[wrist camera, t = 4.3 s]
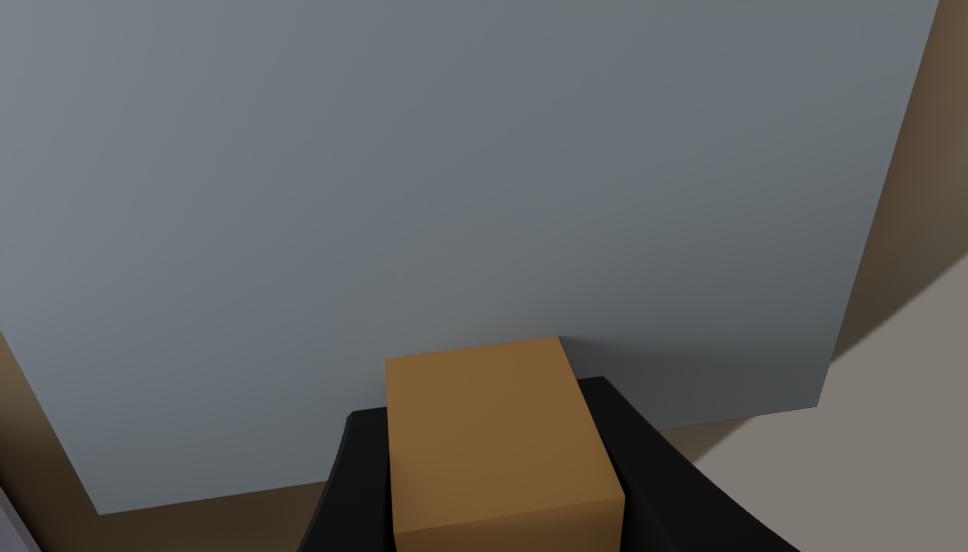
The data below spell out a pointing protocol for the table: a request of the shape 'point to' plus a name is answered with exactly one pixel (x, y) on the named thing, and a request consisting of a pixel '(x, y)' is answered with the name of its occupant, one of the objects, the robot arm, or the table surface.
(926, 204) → the table surface
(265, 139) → the carton lid
